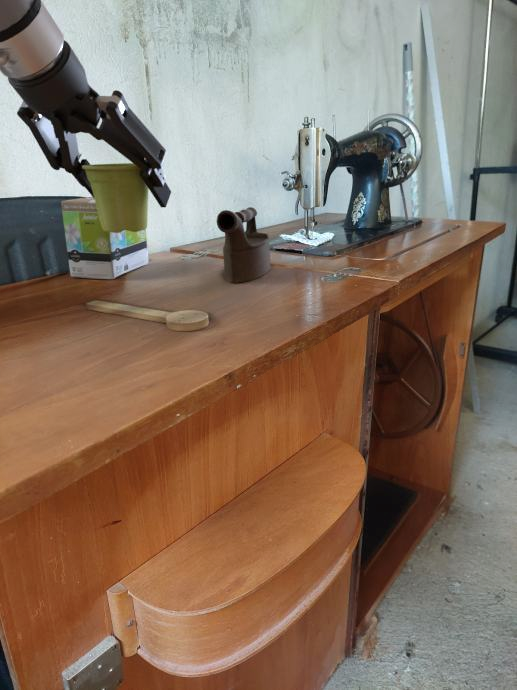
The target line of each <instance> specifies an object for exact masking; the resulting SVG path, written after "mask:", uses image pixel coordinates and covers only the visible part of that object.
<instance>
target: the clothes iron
mask: <svg viewBox="0 0 517 690" xmlns="http://www.w3.org/2000/svg"><path fill="white" fill-rule="evenodd" d="M257 215H258V211H257V209H256V208H254V207H251V206H249V207H247V208H244V209H241V210H239V211H235V212H233V211H231V210H228V209H225V210H224V209H223V210H221V211H220V212H219V213H218V214H217V217H216V225H217V228H218V229H219V231H220V232H222V233H224V245H223V247H222V255H223V269H224V272H223V273H224V280H225V281H227V282H228V283H231V284H238V283H245V282H248V281H252V280H256V279H258V278H260V277H262V276H264V275H266V274H267V273H268V272H269V271H270V270H271V250H270V249H271V248H270V247H271V246H270V235H269V234H268V233H264V232H258V230H257V222H256V221H257V220H256V217H257ZM244 223H246V224H245V226H246V227H245V226H244Z"/></svg>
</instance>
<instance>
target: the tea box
mask: <svg viewBox="0 0 517 690" xmlns="http://www.w3.org/2000/svg"><path fill="white" fill-rule="evenodd" d="M60 204H61V212H62V220H63V229H64V237H65V245H66V252H67V258H68V260H67V261H68V267H69V275H70V277H71V278H80V279H97V280H114V279H116V278H117V277H120V276H121V275H124V274H125V273H129V272H131V271H134V270H136V269H138V268H141V267H144V266H146V265H148V264H149V251H148V237H147V228H146V229H145V230H141V231H138V232H131V231H129V230H124V231H122V232H119V233H114V232H106V231H104V230H103V229H102V226H101V222H100V218H99V214H98V210H97V206H96V202H95V199H94V198H93V197H92V196H87V197H80V198H74V199H73V198H72V199H66V200H61V201H60Z"/></svg>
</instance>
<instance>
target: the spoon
mask: <svg viewBox="0 0 517 690" xmlns="http://www.w3.org/2000/svg"><path fill="white" fill-rule="evenodd" d="M85 305H86V310H89V311H94V312H100V313H106V314H111V315H117V316H122V317H127V318H133V319H140V320H144V321H145V320H146V321H149V322H150V321H151V322H157V323H162V324H165V325H166V328H167V329H168V330H172V331H175V332H192V331H198V330H201V329H204V328H206V327H208V325H209V324H210V322H209V321H210V320H209V313H207V312H206V311H204V310H198V309H197V310H195V309H187V310H178V311H174V312H172V311H167V310H159V309H154V308H147V307H142V306H141V307H140V306H135V305H129V304H124V303H123V304H122V303H116V302H112V301H111V302H110V301H103V300H98V299H95V300H92V301H90V302H86V303H85Z"/></svg>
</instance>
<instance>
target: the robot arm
mask: <svg viewBox="0 0 517 690" xmlns="http://www.w3.org/2000/svg"><path fill="white" fill-rule="evenodd" d="M0 73H1V74H2V75H3V76H5V77H7V81H8V84H10V86H11V87H12V88H13V89H14V91H15V92H16V94H17V95H19V97H20V99H21V100H22V102H21V104H20V106H19V107H18V110H17V112H16V115H17V117H18V118H19V119H20V120H21V121H22V122H23V123H24V124H25V125H26V127H28V128H29V130H30V132H31V134H32V135H33V137H34V139H35V141H36V143H37V144H38V146H39V148H40V149H41V152H42V153H43V155H44V158H45V159H46V161H47V162H48V164H49V166H50V167H51V168H52V169H53V170H55V171H60V169H64V171H65V172H67V173H68V174H71V175H72V177H74V179H75V180H76V181H77V182H78V184H79V185H80V186H82V187H83V188H85V189H86V191H87V192H88V193H89V195H90V196H91V197H93V198H94V195H93V191H92V187H91V184H90V181H89V180H88V178H87V175H86V171H85V169H82V166H83V165H91V163H90V162H89V160H88V159H87V158H82V159H81V157H82V153H80V152H79V146H78V139H77V134H79V133H83V134H89V135H90V136H91V137H93V138H94V139H95V140H97V141H104V142H105V143H106V144H107V145H109V146H110V147H111V148H112V149H113V150H115V151H116V152H118V153H119V154H120V155H122V156H123V157H124V158H125V159H127V160H128V161H129V162H130V163H134V164H135V165H136V166H137V167H139V168H140V169H141V172H140V174H139V175H140V176H141V178H142V179H143V181H144V182H145V184H146V185H147V187H148V188H149V192H150V193H151V194H152V196H153V197H154V200H156V202H157V203H158V205H159V207H160V208H167V205H168V203H169V200H170V197H171V194H172V190H171V188H170V187H169V186H168V184H167V182H166V180H167V176H166V173H165V171H164V170H163V169H162V167H163V164H164V161H165V159H166V156H167V154H168V151H167V149H166V148H165V147H164V146H163V145H162V144H161V142H160V141H159V140H158V139H157V138H156V137H155V135H153V133H152V132H151V131H150V130H149V129H148V128H147V126H146V125H145V124H144V123H143V121H142V120H141V118H139V117H138V116H137V115H136V114H135V112H134V111H133V110H132V109H131V108H130V107H129V105H128V102H127V100H126V98H125V96H124V94H123V92H121V91H120V90H117V89H116V90H113V91H112V94H111V95H100V94H99V93H98V92H97V91H96V90H94V89H93V88H92V87H91V85H90V84H89V81H88V77H87V73H86V70H85V67H84V66H83V64H82V62H81V61H80V59H79V58H78V56H77V55H76V53H75V52H74V50H73V49H72V47H71V45H70V44H69V42H68V41H66V40H65V36H64V33H63V32H62V30H61V29H60V28H59V26H58V24H57V22H56V21H55V20H54V18H53V17H52V14H51V13H50V12H49V11H48V8H47V7H46V6H45V4H44V3H43V1H42V0H0ZM100 120H101V122H100ZM99 123H100V125H99ZM98 125H99V126H98ZM80 159H81V160H80Z"/></svg>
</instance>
